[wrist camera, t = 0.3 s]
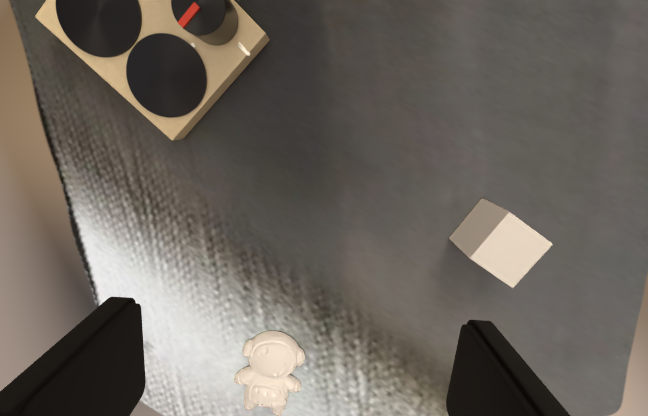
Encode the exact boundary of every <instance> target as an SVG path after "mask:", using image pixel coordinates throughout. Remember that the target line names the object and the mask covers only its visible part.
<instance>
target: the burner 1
mask: <svg viewBox="0 0 648 416" xmlns="http://www.w3.org/2000/svg"><path fill="white" fill-rule="evenodd" d="M56 13H57V17H58V20H59V23H60V25H61V27H62V29H63V31H64V33H65V34H66V36H67V37H68V38H69V39H70V41H71V42H72V43H73V44H74V45H76V46H77V47H78V48H79V49H81V50H83V51H84V52H86V53H88V54H91V55H94V56H97V57H104V58H109V57H116V56H119V55H121V54H123V53H125V52H127V51H128V50H129V49H130V48H131V47H132V46H133V45H134V44H135V42H136V41H137V39H138V37H139V34H140V31H141V26H142V13H141V7H140V4H139V1H138V0H56Z"/></svg>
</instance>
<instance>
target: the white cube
mask: <svg viewBox="0 0 648 416" xmlns="http://www.w3.org/2000/svg"><path fill="white" fill-rule="evenodd" d="M449 239H450V240H451V241H452V242H453V243H454V244H455V245H456V246H457V247H458V248H459V249H460V250H462V251H463V252H464V253H465V254H466V255H467V256H468V257H469V258H470V259H471V260H473V261H474V262H476V263H477V264H479V265H480V266H481V267H483V268H484V269H486V270H487V271H489V272H490V273H492V274H493V275H494V276H496V277H497V278H499V279H500V280H502V281H503V282H505V283H506V284H507V285H509V286H510V287H512V288H513V287H514V286H515V285H516V284H517V283H518V282H519V281H520V280H521V278H522V277H523V276H524V275H525V274H526V273H527V272H528V271H529V270H530V269H531V268H532V266H533V265H534V264H535V263H536V262H537V261H538V260H539V259H540V258H541V257H542V255H543V254H544V253H545V252H546V251H547V250H548V249H549V248H550V247H551V246H552V243H551V242H549V241H548V240H547V239H545V238H544V237H543V236H541V235H540V234H539V233H537V232H536V231H534V230H533V229H532V228H530V227H529V226H528V225H526V224H525V223H524V222H522V221H521V220H520V219H518V218H517V217H515V216H514V215H513V214H511V213H510V212H508V211H506V210H505V209H503V208H501V207H499V206H497V205H495V204H493V203H491V202H489V201H487V200H485V199H483V198H482V199H481V200H480V201H479V202H478V203H477V205H476V206H475V207H474V208H473V210H472V211H471V212H470V213H469V214H468V216H467V217H466V218H465V219H464V220H463V222H462V223H461V224H460V225H459V226H458V228H457V229H456V230H455V231H454V233H453V234H452V235H451V236H450V237H449Z"/></svg>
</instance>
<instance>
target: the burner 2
mask: <svg viewBox="0 0 648 416" xmlns="http://www.w3.org/2000/svg"><path fill="white" fill-rule="evenodd" d="M126 77H127V82H128V85H129V88H130V90H131V92H132V94H133V96H134V97H135V99H136V100H137V101H138V102H139V103H140V104H141V105H142V106H143V107H144V108H145V109H146V110H148V111H150V112H151V113H153V114H155V115H158V116H162V117H168V118H174V117H181V116H184V115H187V114H189V113H190V112H192V111H193V110H195V109H196V108H197V107H198V106H199V104H200V103H201V101H202V100H203V98H204V95H205V93H206V88H207V72H206V68H205V65H204V62H203V60H202V58H201V56H200V55H199V53H198V52H197V51H196V50H195V48H193V46H191V45H190V44H189V43H188V42H187V41H185V40H184V39H182V38H180V37H178V36H175V35H172V34H168V33H156V34H151V35H149V36H146V37H144V38H143V39H141V40H140V41H139V42H137V43H136V45H135V46H134V47H133V48H132V50H131V52H130V54H129V56H128V59H127V64H126Z"/></svg>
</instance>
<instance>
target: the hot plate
mask: <svg viewBox="0 0 648 416" xmlns="http://www.w3.org/2000/svg"><path fill="white" fill-rule="evenodd" d="M138 1H139V4H140V7H141V13H142V26H141V31H140V34H139V37H138V39H137V41H136V42H135V44H134V45H133V46H132V47H131V48H130V49H129V50H128V51H127V52H125V53H123V54H121V55H119V56H116V57H109V58H104V57H97V56H94V55H91V54H88V53H86V52H84V51H83V50H81V49H79V48H78V47H77V46H76V45H74V44H73V43H72V42H71V41H70V39H69V38H68V37H67V36H66V34H65V33H64V31H63V29H62V27H61V25H60V23H59V20H58V17H57V13H56V0H46V2H45V3H44V4H43V6H42V7H41V9H40V10H39V11H38V13H37V14H36V16H35V17H36V18H37V19H38V20H39V21H40V22H41V23H42V24H43V25H44V26H46V27H47V28H48V29H49V30H50V31H51V32H52V33H53V34H54V35H56V36H57V37H58V38H59V39H60V40H61V41H62V42H63V43H64V44H65V45H67V46H68V47H69V48H70V49H71V50H72V51H73V52H74V53H75V54H77V55H78V56H79V57H80V58H81V59H82V60H83V61H84V62H85V63H87V64H88V65H89V66H90V67H91V68H92V69H93V70H94V71H95V72H96V73H98V74H99V75H100V76H101V77H102V78H103V79H104V80H105V81H106V82H108V83H109V84H110V85H111V86H112V87H113V88H114V89H115V90H116V91H118V92H119V93H120V94H121V95H122V96H123V97H124V98H125V99H126V100H128V101H129V102H130V103H131V104H132V105H133V106H134V107H135V108H136V109H137V110H139V111H140V112H141V113H142V114H143V115H144V116H145V117H146V118H147V119H149V120H150V121H151V122H152V123H153V124H154V125H155V126H156V127H157V128H159V129H160V130H161V131H162V132H163V133H164V134H165V135H166V136H167V137H169V138H170V139H171V140H172V141H173V140H179V139H184V137H185V136H186V135H187V134H188V133H189V132H190V131H191V129H192V128H193V127H194V126H195V125H196V124H197V123H198V121H199V120H200V119H201V118H202V117H203V116H204V115H205V113H206V112H207V111H208V110H209V109H210V108H211V107H212V105H213V104H214V103H215V102H216V101H217V100H218V99H219V97H220V96H221V95H222V94H223V93H224V92H225V91H226V90H227V88H228V87H229V86H230V85H231V84H232V83H233V82H234V80H235V79H236V78H237V77H238V76H239V75H240V74H241V72H242V71H243V70H244V69H245V68H246V67H247V66H248V64H249V63H250V62H251V61H252V60H253V59H254V58H255V56H256V55H257V54H258V53H259V52H260V51H261V50H262V49H263V47H264V46H265V45H266V44H267V43H268V42H269V41H270V39H269V38H268V36H267V35H266V33H265V32H264V31H263V30H262V29H261V28H260V27H259V26H258V25H257V24H256V23H255V22H254V20H253V19H252V18H251V17H250V16H249V15H248V14H247V13H246V12H245V11H244V10H243V9H242V8H241V7H240V6H239V5H238V4H237V3H236V2H235V1H234V0H230V1H231V2H232V4H233V5H234V7H235V9H236V11H237V14H238V28H237V31H236V34H235V35H234V37H233V38H232V39H231V40H230V41H229V42H227V43H226V44H223V45H217V46H216V45H210V44H207V43H205V42H203V41H202V40H200V39H199V38H197V37H195V36H194V35H192V34H191V33H189V32H188V31H186V30H185V29H183V28H182V27H181V26H180V25H179V24H178V22H177V21H176V19H175V17H174V15H173V12H172V7H171V0H138ZM156 33H168V34H172V35H175V36H178V37H180V38H182V39H184V40H185V41H187V42H188V43H189V44H190V45H191V46H193V48H195V50H196V51H197V52H198V53H199V55H200V56H201V58H202V60H203V62H204V65H205V68H206V72H207V88H206V93H205V95H204V98H203V100H202V101H201V103H200V104H199V106H198V107H197V108H196V109H195V110H193V111H192V112H190V113H189V114H187V115H184V116H181V117H174V118H168V117H162V116H158V115H155V114H153V113H151V112H150V111H148V110H146V109H145V108H144V107H143V106H142V105H141V104H140V103H139V102H138V101H137V100H136V99H135V97H134V96H133V94H132V92H131V90H130V88H129V85H128V82H127V77H126V64H127V59H128V56H129V54H130V52H131V50H132V48H133V47H134V46H135V45H136V43H137V42H139V41H140V40H141V39H143V38H144V37H146V36H149V35H151V34H156Z"/></svg>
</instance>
